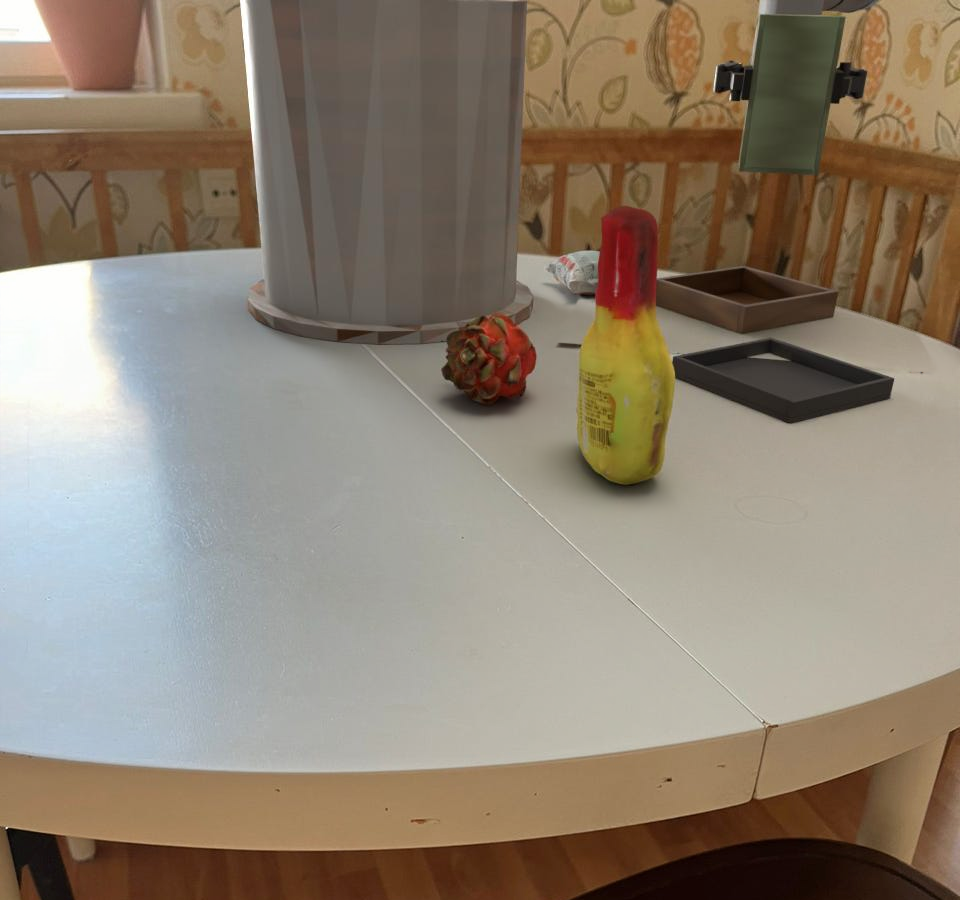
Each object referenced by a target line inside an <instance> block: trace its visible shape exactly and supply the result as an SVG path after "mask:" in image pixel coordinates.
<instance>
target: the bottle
mask: <svg viewBox="0 0 960 900" xmlns="http://www.w3.org/2000/svg"><path fill="white" fill-rule="evenodd" d="M600 220H601V221H600V223H601V243H600V244H601V245H600V249H599V251H600V254H599V260H598V284H597V288H596V294H595V295H594V298H595V313H594V320H593V322H592V324H590V326H589V328H588V329H587V332H586V334H585V336H584V338H583V341H582V343H581V346H580V349H579V357H578V393H577V394H578V395H577V405H576V415H577V424H576V431H577V432H576V434H577V435H576V436H577V441H578V445H579V448H580V452H581V454H582V456H583V457H584V459H585V461H586V462H587V463H588V464H589V466H590V467H591V468H592V469H593V471H595V473H597V474H599V475H601V476H602V477H604V478H605V479H606V480H607V481H610V482H612V483H615V484H619V485H622V486H623V485H625V486H627V485H628V486H629V485H632V484H637V483H640V482H641V483H642V482H644V481H647V480H649V479H652V478H654V477H655V476H657V475H658V474H659V473H660V472H661V470H662V467H663V465H664V461H665V454H666V437H667V433H668V428H669V423H670V418H671V414H672V411H673V404H674V397H675V387H676V377H675V371H674V367H673V364H672V361H673V360H672V358H671V355H670V352H669V349H668V347H667V344H666V340H665V338H664V334H663V332H662V330H661V328H660V325H659V321H658V319H657V306H656V282H657V278H658V249H659V227H658V222H657V218H655V216H654V215H653V214H652V213H651V212H650V211H648V210H645V209H642V208H638V207H634V206H633V207H632V206H629V205H620V206H619V205H618V206H617V207H614V208H612V209H611V210H609V212H607V213H606V214H604V215H603V216H602V217H601V219H600Z"/></svg>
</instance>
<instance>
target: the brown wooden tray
mask: <svg viewBox="0 0 960 900" xmlns="http://www.w3.org/2000/svg"><path fill="white" fill-rule="evenodd" d="M838 296H839V290H835V289H831V288H828V287H824V286H820V285H817V284H816V285H815V284H813V283H809V282H805V281H801V280H798V279H794V278H790V277H788V276H787V277H786V276H782V275H779V274H776V273H771V272H768V271H765V270H761V269H757V268H754V267H749V266H746V265H740V266H734V267H733V266H732V267H725V268H719V269H712V270H706V271H704V270H703V271H698V272H692V273H691V272H690V273H684V274H678V275H677V274H676V275H670V276H663V277H657V282H656V307H659V308H661V309H665V310H668V311H670V312H673V313H676V314H680V315H683V316H685V317H687V318H691V319H694V320H696V321H697V320H698V321H700V322H703V323H706V324H709V325H713V326H715V327H718V328H721V329H724V330H727V331H729V332H733V333H736V334H739V335H746V334H751V333H756V332H757V333H758V332H763V331H766V330H773V329H777V328H778V329H779V328H782V327H783V328H784V327H789V326H795V325H799V324H806V323H809V322H815V321H822V320H825V319H831V318H834V316H835V312H836V306H837V300H838Z"/></svg>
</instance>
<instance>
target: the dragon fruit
mask: <svg viewBox="0 0 960 900" xmlns="http://www.w3.org/2000/svg"><path fill="white" fill-rule="evenodd" d="M445 342H446V344H447V348H445V352H446V356H445V359H446V360H447V362H445V365H443V366H442V367H441V369H440V371H441V374H442V378H443V379H444V380H445V381H450V382H452V383H453V385H454V387H455V388H456V389H457V390H459V391H461V392H464V393H465V394H467V395H468V396H469V397H470V399H471V400H472V401H474V402H476V403H480V404H482V405H484V406H491V405H492V404H494V403H496V401H498V399H499V397H505V398H506V399H508V400H511V399H514V398H516V399H518V400H519V399H521V398H522V397H523V396H524V395H525V393H526V388H527V377H528V376H529V375H530V374H532V373H533V371H534V370H535V369H536V366H537V365H536V364H537V350H536V347H535V346H534V344H533V343H532V342H531V340H530V337H529V336H528V334H527V333H526V331H524V330H523V329H521V327H520V326H519V325H518V324H517V325H516V324H515V323H514V322H513V321H512V319H511V318H510V317H508V316H506V315H504V314H502V313H494V314H492V315H491V316H490V317H489V318H487V317H485V316H481V317H479V318H476V319H474V320H473V321H471V322H469V323H467V325H466V326H465V330H458V331H454V332H451V333H450V334H449V335H448V336H447V338H446V341H445Z"/></svg>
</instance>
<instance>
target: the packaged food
mask: <svg viewBox="0 0 960 900" xmlns="http://www.w3.org/2000/svg"><path fill="white" fill-rule="evenodd" d="M599 254H600V250H580V251H575V252H571V253H567V254H565V255H561V256H560V257H558V258H557V259H555V261H552V262H549V263H548V264H547V265H546V266H545V267H544V270H545V271H547V272H548V273H551V274H552V275H553V278H554V279H555V280H556V281H557V282H558V283H560V284H561V285H563V286H565V287H566V288H567V289H568V291H570V292H572V293H573V294H576V295H578V296H579V295H581V296H595V294H596V288H597V284H598V260H599Z"/></svg>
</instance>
